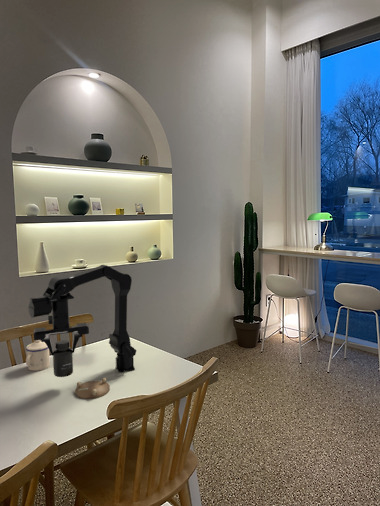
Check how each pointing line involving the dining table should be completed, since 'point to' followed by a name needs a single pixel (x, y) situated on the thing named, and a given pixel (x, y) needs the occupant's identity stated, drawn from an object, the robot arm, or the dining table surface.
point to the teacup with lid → (37, 356)
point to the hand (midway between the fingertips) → (62, 353)
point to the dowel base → (92, 389)
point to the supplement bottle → (62, 359)
